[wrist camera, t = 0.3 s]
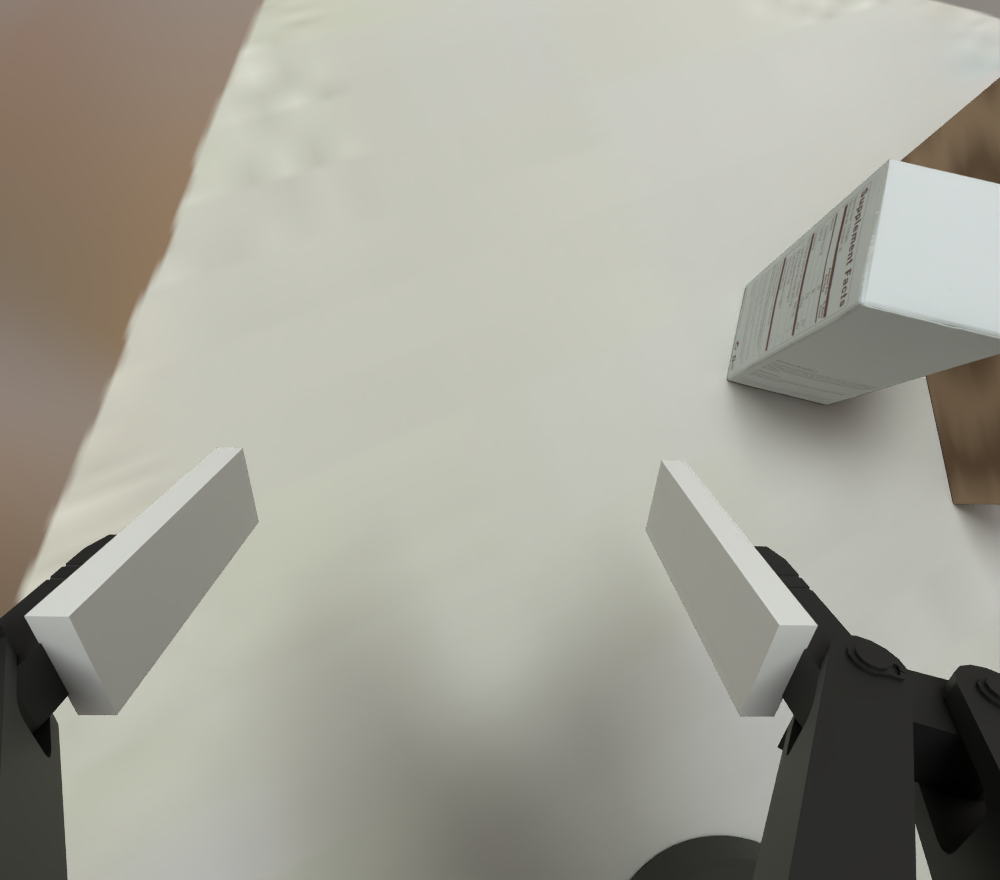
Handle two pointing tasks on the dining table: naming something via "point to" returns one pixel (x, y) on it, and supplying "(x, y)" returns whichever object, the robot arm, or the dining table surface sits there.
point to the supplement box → (878, 290)
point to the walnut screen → (986, 382)
